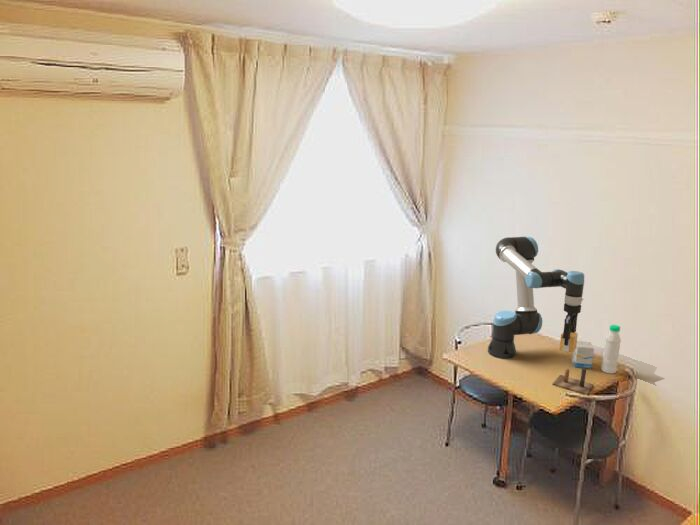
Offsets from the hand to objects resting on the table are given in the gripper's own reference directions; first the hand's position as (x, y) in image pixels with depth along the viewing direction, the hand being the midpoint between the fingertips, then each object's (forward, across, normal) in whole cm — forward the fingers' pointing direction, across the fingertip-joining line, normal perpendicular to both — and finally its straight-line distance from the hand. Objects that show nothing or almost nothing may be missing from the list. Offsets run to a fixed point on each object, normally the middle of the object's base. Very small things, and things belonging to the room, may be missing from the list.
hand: (567, 348), depth 253 cm
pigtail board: (+18, 0, -4) cm, 18 cm away
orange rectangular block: (0, 0, 0) cm, 0 cm away
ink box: (+18, +27, -1) cm, 32 cm away
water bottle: (+18, +28, -14) cm, 36 cm away
